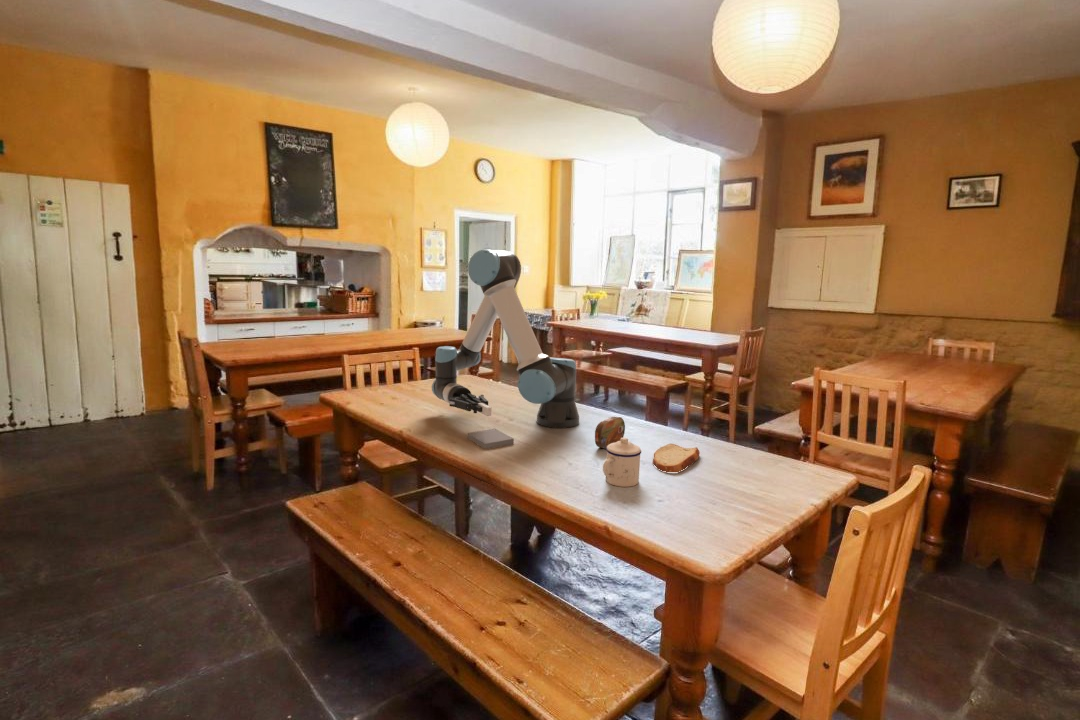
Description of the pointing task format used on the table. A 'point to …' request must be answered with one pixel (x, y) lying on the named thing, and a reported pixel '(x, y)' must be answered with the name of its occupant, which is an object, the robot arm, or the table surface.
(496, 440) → the ceramic tile
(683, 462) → the bread slice
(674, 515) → the table surface
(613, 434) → the tin
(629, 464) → the teacup with lid
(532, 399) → the robot arm
